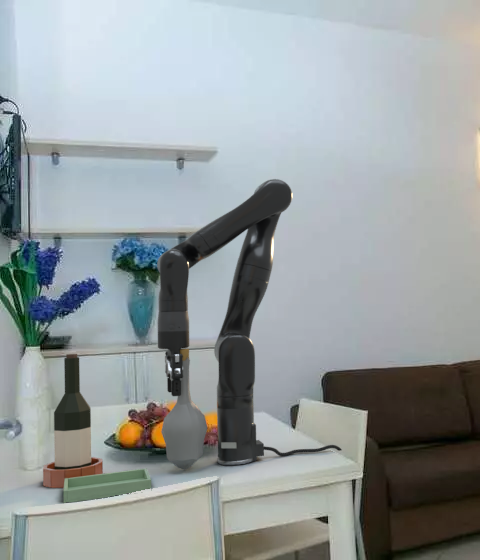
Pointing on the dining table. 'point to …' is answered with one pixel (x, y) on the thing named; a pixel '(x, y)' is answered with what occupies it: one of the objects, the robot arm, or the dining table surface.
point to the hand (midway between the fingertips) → (174, 393)
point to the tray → (105, 485)
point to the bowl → (69, 473)
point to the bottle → (184, 425)
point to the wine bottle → (72, 422)
